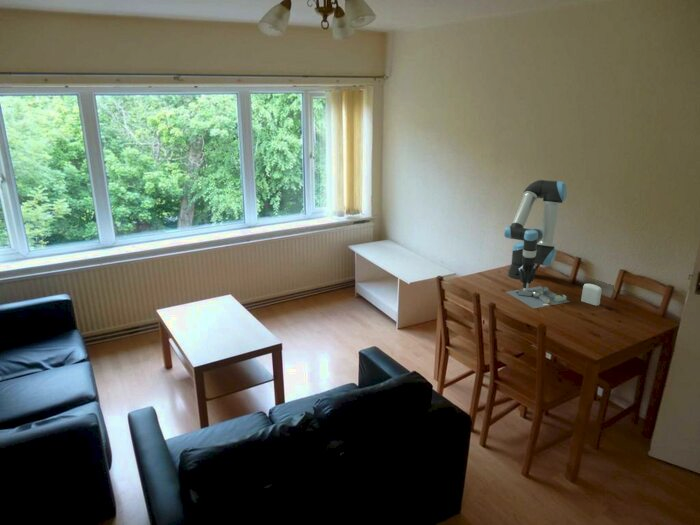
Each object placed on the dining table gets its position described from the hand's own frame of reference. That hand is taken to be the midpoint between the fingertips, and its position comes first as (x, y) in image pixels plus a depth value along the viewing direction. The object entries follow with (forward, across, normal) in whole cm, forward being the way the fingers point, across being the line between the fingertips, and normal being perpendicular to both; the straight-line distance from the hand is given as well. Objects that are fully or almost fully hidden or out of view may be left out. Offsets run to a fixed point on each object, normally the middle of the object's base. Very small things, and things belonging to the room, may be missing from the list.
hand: (525, 292), depth 304 cm
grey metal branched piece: (+1, -1, +4) cm, 5 cm away
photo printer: (+3, -26, +24) cm, 36 cm away
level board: (+2, -4, +6) cm, 7 cm away
